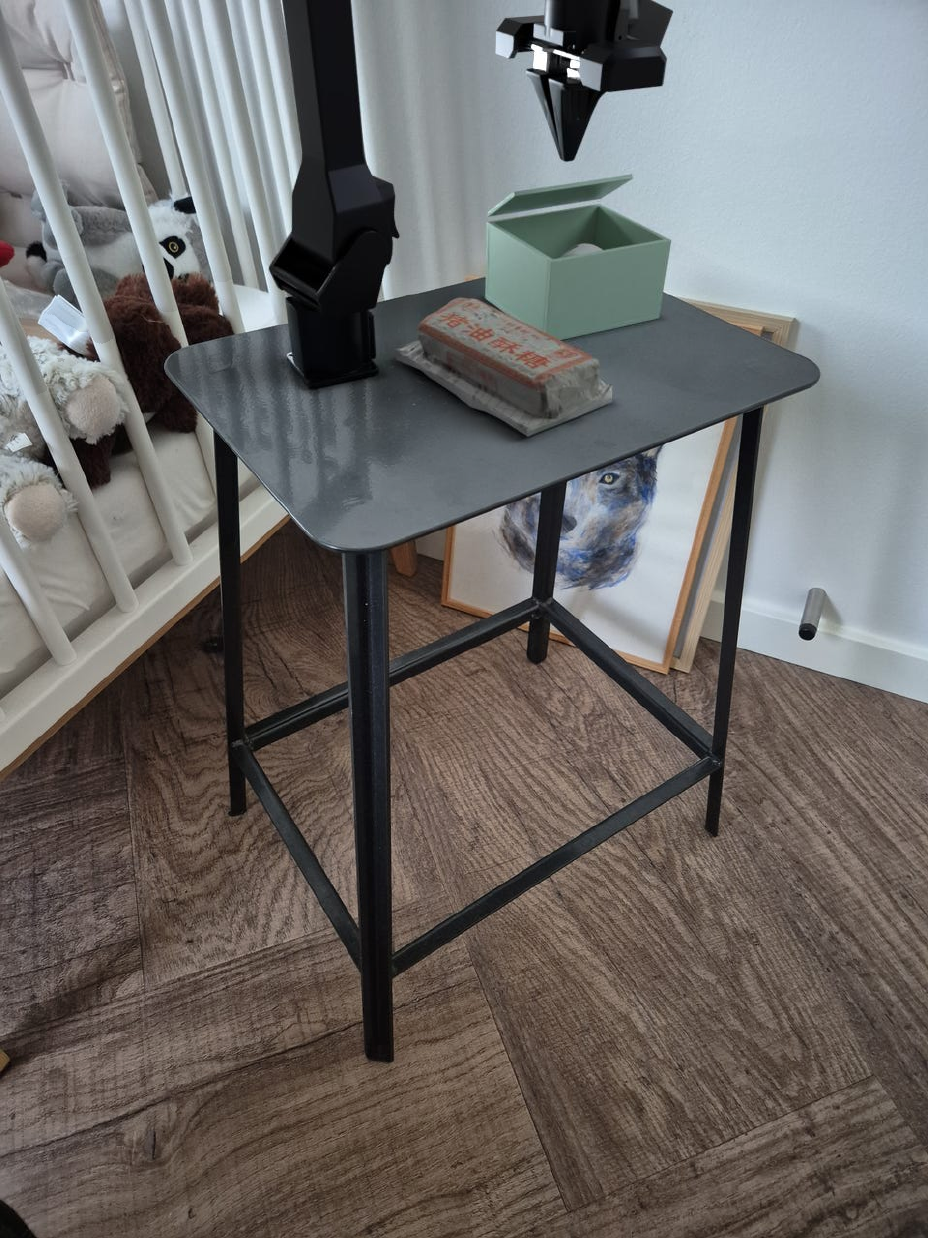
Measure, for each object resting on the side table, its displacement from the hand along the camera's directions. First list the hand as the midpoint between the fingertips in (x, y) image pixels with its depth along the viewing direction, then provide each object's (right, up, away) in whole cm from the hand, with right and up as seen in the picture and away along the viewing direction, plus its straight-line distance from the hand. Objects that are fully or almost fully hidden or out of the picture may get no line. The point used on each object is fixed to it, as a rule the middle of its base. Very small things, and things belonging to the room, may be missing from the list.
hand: (567, 160), depth 82 cm
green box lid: (0, -2, +3) cm, 3 cm away
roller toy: (+2, -12, +6) cm, 13 cm away
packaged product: (-6, -22, -5) cm, 24 cm away
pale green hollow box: (+1, -11, +7) cm, 13 cm away
